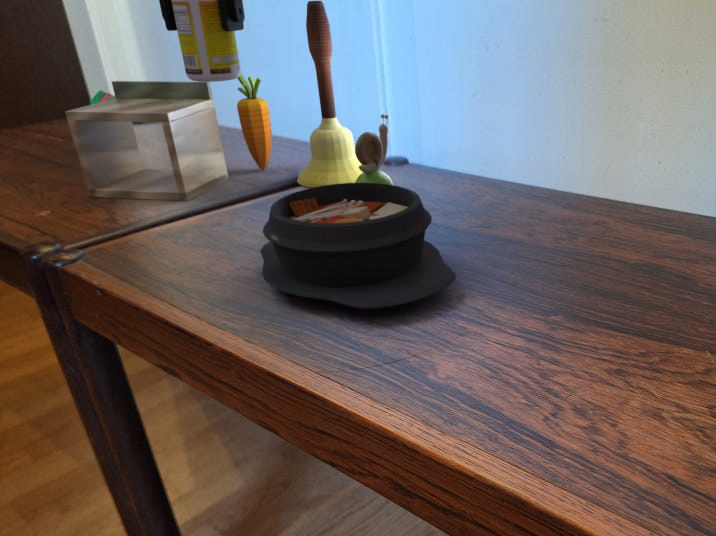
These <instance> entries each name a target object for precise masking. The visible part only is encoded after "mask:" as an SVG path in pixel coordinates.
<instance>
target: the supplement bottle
mask: <svg viewBox="0 0 716 536" xmlns="http://www.w3.org/2000/svg"><path fill="white" fill-rule="evenodd" d="M171 1H172V6H173V12H174V16H175V21H176V26H177V30H176V31H177V36H178V37H177V38H178V40H179V46H180V51H181V57H182V61H183V66H184V70H185V75H186V77H187V79H189V80H190V81H192V82H210V83H212V82H215V83H216V82H226V81H232V80H236V79H238V77H239V76H240V74H242V71H241V69H242V68H241V64H240V57H239V51H238V47H237V46H238V44H237V40H236V31H231V32H226V31H225V30H223V28H222V22H221V16H220V10H219V4H218V0H171Z"/></svg>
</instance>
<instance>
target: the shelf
mask: <svg viewBox="0 0 716 536" xmlns="http://www.w3.org/2000/svg"><path fill="white" fill-rule="evenodd" d="M111 86H112V90H113V93H114V95H115V97H116V99H112V100H108V101H104V102H100V103H96V104H92V105H91V104H89V105H84V106H81V107H76V108H73V109H69V110H66V111H64V113H65V116H66V120H67V123H68V126H69V130H70V133H71V137H72V141H73V143H74V147H75V150H76V154H77V156H78V160H79V163H80V168H81V171H82V174H83V177H84V181H85V184H86V188H87V190H88V194H89V197H90V198H105V199H106V198H107V199H108V198H109V199H128V200H129V199H133V200H153V201H180V202H188V201H190V200H192V199H193V198H196V197H198V196H200V195H201V194H204V193H205V192H207V191H209V190H211V189H213V188H214V187H217V186H219V185H220V184H222V183H224V182H226V181H228V180H229V174H228V169H227V163H226V159H225V154H224V149H223V143H222V138H221V133H220V128H219V122H218V117H217V113H216V108H215V103H214V97H213V92H212V88H211V82H200V81H169V80H168V81H161V80H160V81H158V80H156V81H155V80H153V81H152V80H148V81H147V80H144V81H143V80H113V81H111ZM133 122H138V123H141V122H143V123H161V125H162V129H163V133H164V134H163V135H164V138H165V142H166V146H167V150H168V151H167V152H168V155H169V160H170V164H171V168H172V169H155V168H154V169H152V168H151V169H149V168H144V165H143V160H142V156H141V152H140V149H139V145H138V141H137V137H136V133H135V129H134V124H133Z"/></svg>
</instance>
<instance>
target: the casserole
mask: <svg viewBox="0 0 716 536" xmlns="http://www.w3.org/2000/svg"><path fill="white" fill-rule="evenodd" d="M432 220H433V219H432V214H431V213H430V212H429V211H428V210H427V209H425V206H424V204H423V201H422V199H421V197H420V195H419V194H418V193H416V192H415V191H414V190H411V189H409V188H407V187H403V186H399V185H395V184H394V185H388V184H378V183H344V184H333V185H325V186H319V187H314V188H312V187H308V188H305V189H302V190H298V191H295V192H293V193H289V194H287V195H284V196H283V197H280V198H279V199H277V200H276V201H274V202H273V204H272V205H271V206H270V210H269V216H268V220H267V222H266V223H265V224H264V226H263V228H262V234H263V236H264V237H265V238H266V239H267V240H268V241H269V242H267V243H265V244H263V246H262V247H261V248H260V250H259V252H260V255H261V257H262V260H263V264H262V270H261V271H262V272H261V275H262V277H263V280H264V281H265V282H266V283H267V284H268V285H269V286H271V287H272V288H275V289H277V290H279V291H281V292H283V293H287V294H288V295H293V296H297V297H301V298H302V297H303V298H309V299H315V300H323V301H330V302H332V303H333V302H334V303H337V304H340V305H343V306H346V307H350V308H355V309H363V310H364V309H365V310H375V309H385V308H390V307H396V306H400V305H406V304H409V303H412V302H416V301H419V300H422V299H425V298H427V297H430V296H433V295H435V294H437V293H439V292H440V291H443V290H444V289H447V288H448V287H449V286H450V285H451V284H453V283H454V281H456V275H457V274H456V273H455V272H454V270H453V269H452V268H451V267H450V266H449V265H447V264H446V262H444V259H443V257H442V255H441V253H440V250H439V249H438V248H437V247H436V246H434V244H432V243H431V242H429V241H427V240H425V236H426V230H427V229H428V228H429V226H430V225H431V224H432Z"/></svg>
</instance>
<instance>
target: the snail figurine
mask: <svg viewBox="0 0 716 536" xmlns="http://www.w3.org/2000/svg"><path fill="white" fill-rule="evenodd" d="M389 117H390V116H389V115H388V114H383V113H381V115H380V118H381V119H382V123H381V124H380V125H379V126H378V133H379V135H378V134H377V133H375V132H373V131H365V132H363V133H361V134H360V136H359V137H358V138H357V140H356V143H355V145H354V148H355V154H356V157H357V159H358V161H359V162H360V163H361V164H362V165H360V166H359V169H360V170H361V171H362V172H363V173H362V174H360V175H359V177H358V178H357V179H356V181H355V183H378V184H388V185H394V186H395V184H394V182H393V180H392V179H391V177H390V176H389V175H388V174H387V173H386V172H384V171H382V170H379V169H380V168H381V167H382V166H383V165H384V163H385V161H386V158H387V154H388V149H389V148H388V147H389V145H388V144H389V137H388V136H389V131H390V129H389V126H388V125H389V124H388V123H389V122H388V121H389V120H388V119H389ZM384 119H386V123H385V121H384Z"/></svg>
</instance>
